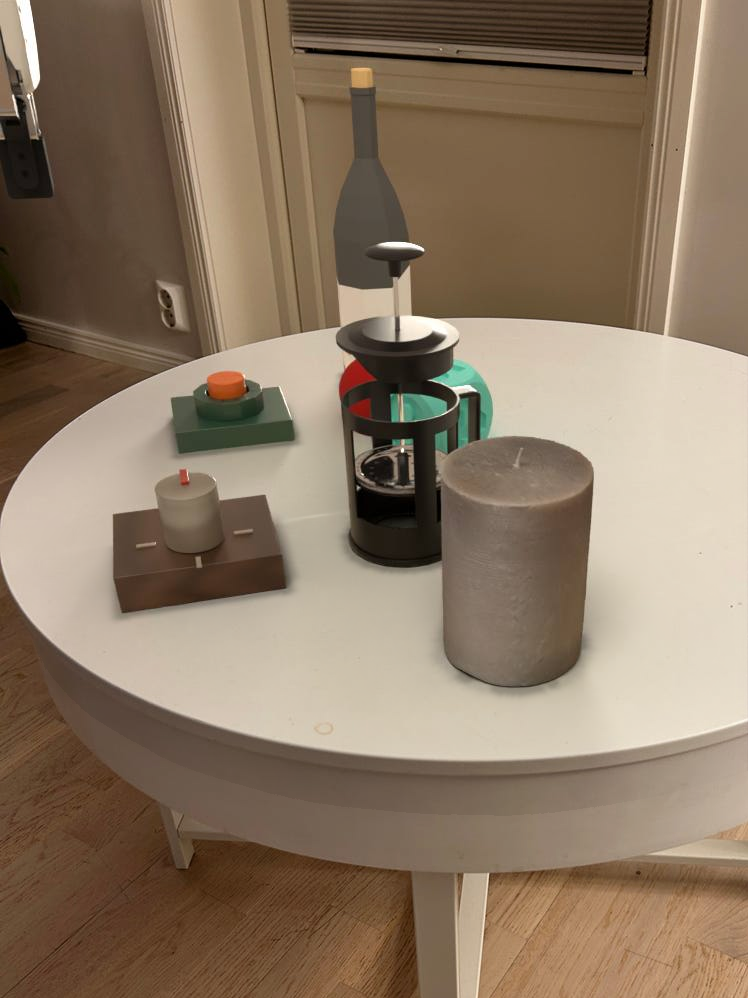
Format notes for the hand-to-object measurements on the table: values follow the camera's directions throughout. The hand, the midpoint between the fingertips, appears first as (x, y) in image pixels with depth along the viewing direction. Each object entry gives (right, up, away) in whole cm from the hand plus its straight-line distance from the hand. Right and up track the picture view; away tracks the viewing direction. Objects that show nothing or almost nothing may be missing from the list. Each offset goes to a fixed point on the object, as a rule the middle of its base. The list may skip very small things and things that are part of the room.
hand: (32, 195), depth 76 cm
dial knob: (+12, -26, 0) cm, 29 cm away
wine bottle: (+23, -5, +36) cm, 43 cm away
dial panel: (+12, -28, +2) cm, 31 cm away
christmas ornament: (+24, -12, +25) cm, 36 cm away
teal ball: (+30, -16, +20) cm, 39 cm away
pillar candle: (+36, -34, -6) cm, 50 cm away
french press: (+28, -25, +6) cm, 39 cm away
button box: (+9, -13, +24) cm, 29 cm away
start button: (+9, -10, +22) cm, 26 cm away
